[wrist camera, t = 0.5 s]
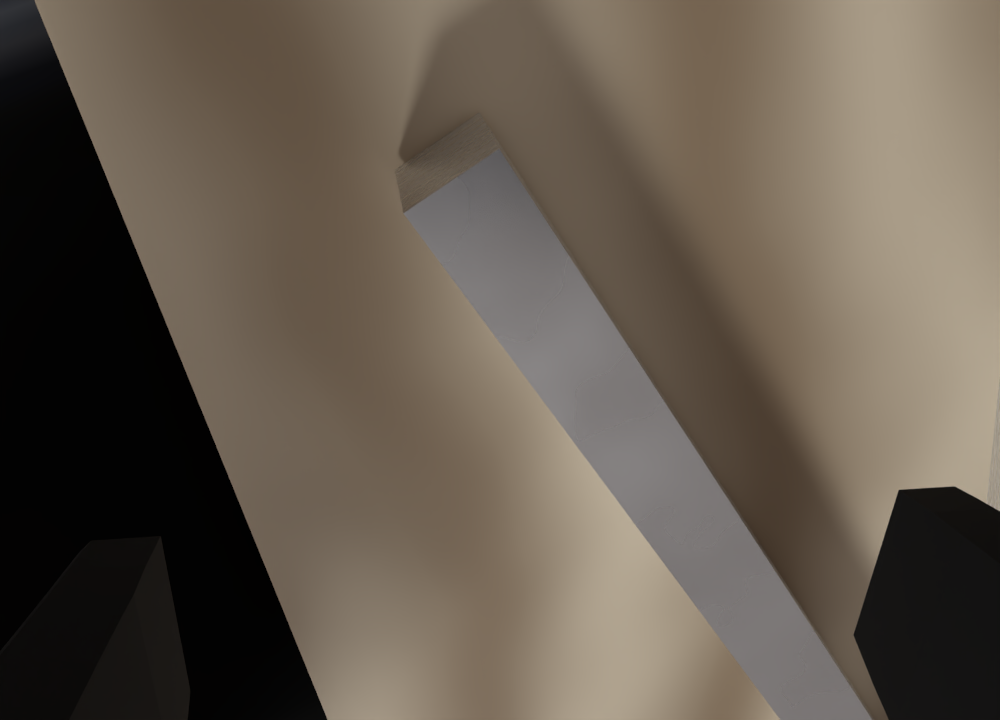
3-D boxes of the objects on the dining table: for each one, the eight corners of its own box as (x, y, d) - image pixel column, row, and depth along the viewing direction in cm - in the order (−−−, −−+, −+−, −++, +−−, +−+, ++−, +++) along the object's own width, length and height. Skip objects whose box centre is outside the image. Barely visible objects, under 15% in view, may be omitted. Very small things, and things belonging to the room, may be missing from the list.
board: (439, 961, 28) (443, 1004, 27) (47, -32, 14) (25, -23, 13) (1042, 800, 29) (1068, 835, 28) (1241, -285, 15) (1310, -294, 14)
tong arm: (873, 826, 26) (914, 901, 24) (394, 169, 15) (403, 215, 13) (983, 769, 25) (1034, 842, 23) (571, 48, 14) (606, 79, 13)
